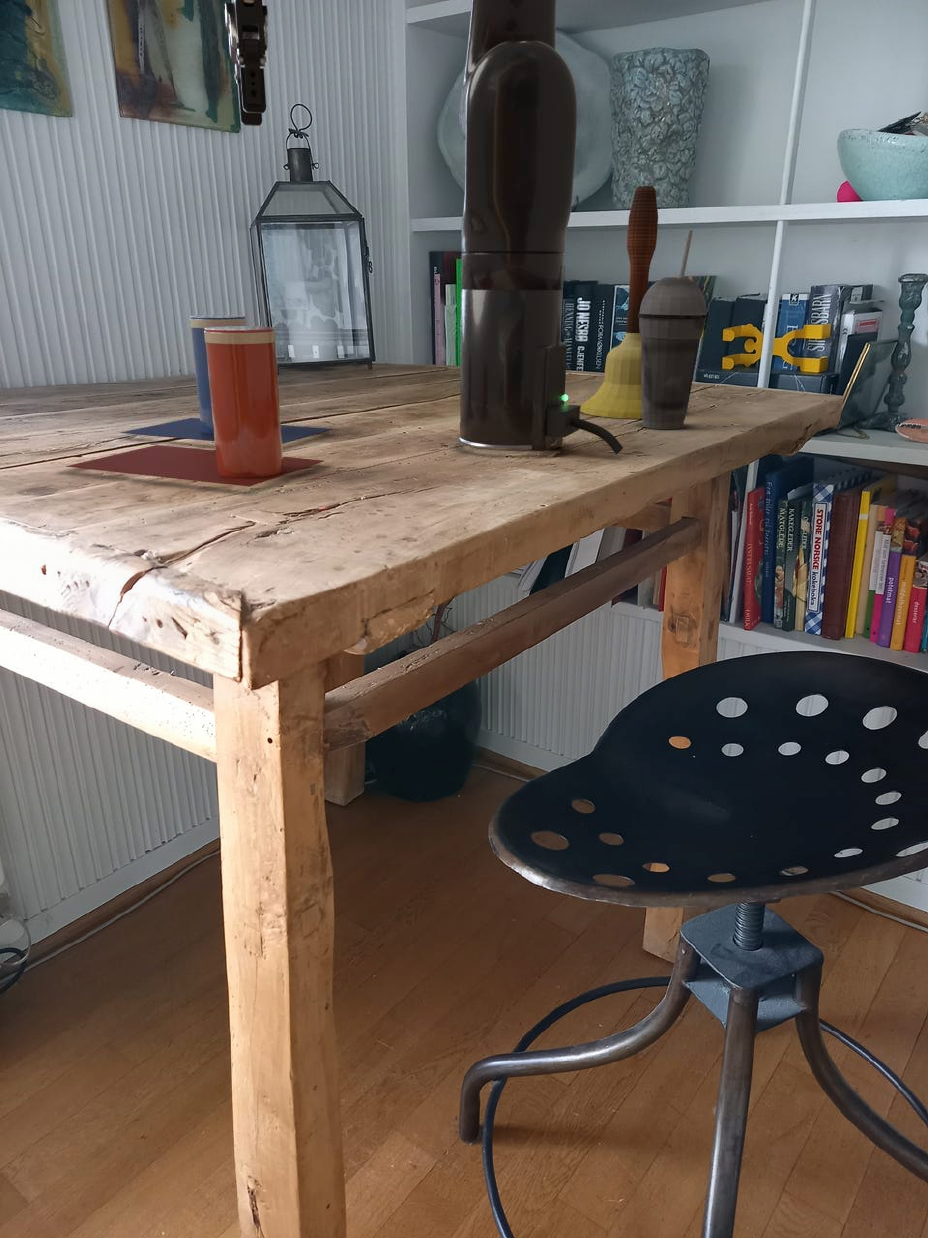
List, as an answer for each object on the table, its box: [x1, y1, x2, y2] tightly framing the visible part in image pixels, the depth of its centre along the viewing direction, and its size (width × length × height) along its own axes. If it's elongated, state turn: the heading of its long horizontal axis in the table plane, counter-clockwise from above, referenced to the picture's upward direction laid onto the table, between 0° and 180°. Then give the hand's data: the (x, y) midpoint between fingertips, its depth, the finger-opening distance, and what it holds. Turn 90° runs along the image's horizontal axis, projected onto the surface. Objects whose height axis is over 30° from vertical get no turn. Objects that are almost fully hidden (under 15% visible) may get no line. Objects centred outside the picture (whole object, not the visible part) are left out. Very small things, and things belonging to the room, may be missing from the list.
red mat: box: [65, 444, 325, 487], centre depth 76 cm, size 18×11×1 cm, turn 67°
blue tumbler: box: [189, 314, 247, 434], centre depth 89 cm, size 5×5×11 cm
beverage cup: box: [638, 229, 708, 430], centre depth 96 cm, size 7×7×20 cm
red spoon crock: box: [204, 325, 284, 478], centre depth 71 cm, size 5×5×11 cm
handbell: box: [580, 185, 659, 420], centre depth 106 cm, size 12×12×25 cm
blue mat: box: [119, 417, 334, 445], centre depth 91 cm, size 18×11×1 cm, turn 67°
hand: (253, 118), depth 91 cm, fingers open, 8 cm apart
